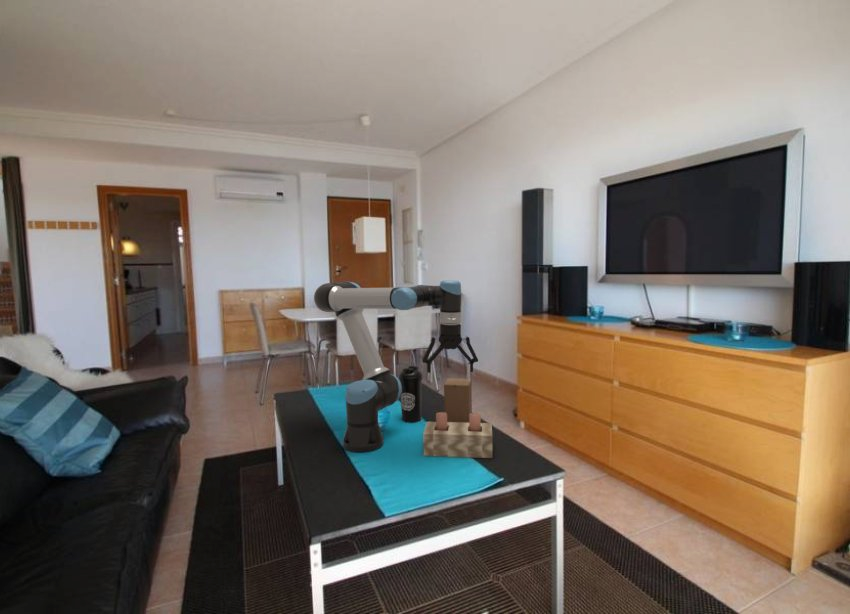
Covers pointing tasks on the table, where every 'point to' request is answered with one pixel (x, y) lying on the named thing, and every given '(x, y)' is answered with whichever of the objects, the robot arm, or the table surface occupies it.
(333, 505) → the table surface
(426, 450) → the socket board
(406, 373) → the water bottle
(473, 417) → the peg
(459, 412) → the wooden block
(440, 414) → the peg
